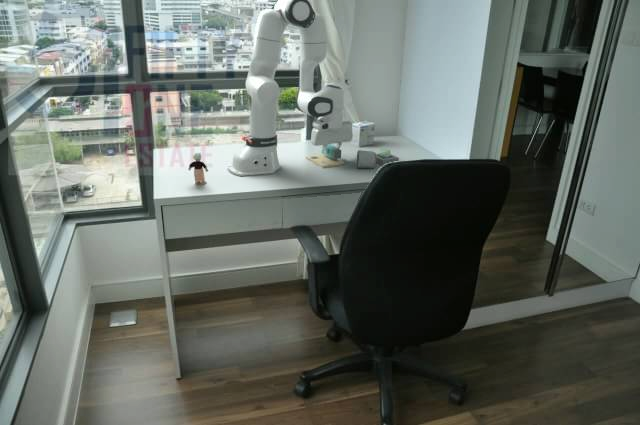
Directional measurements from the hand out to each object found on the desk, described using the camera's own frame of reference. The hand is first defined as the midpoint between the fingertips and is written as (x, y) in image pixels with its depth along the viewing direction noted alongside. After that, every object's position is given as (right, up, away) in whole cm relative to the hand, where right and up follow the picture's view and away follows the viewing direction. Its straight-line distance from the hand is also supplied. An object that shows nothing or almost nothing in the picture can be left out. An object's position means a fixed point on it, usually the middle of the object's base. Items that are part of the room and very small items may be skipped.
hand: (331, 152), depth 228 cm
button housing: (+24, -4, +1) cm, 24 cm away
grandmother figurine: (-53, -16, -30) cm, 63 cm away
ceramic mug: (+15, -7, -4) cm, 17 cm away
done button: (+24, -3, 0) cm, 24 cm away
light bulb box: (+16, +7, +28) cm, 33 cm away
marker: (0, -1, +1) cm, 2 cm away
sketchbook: (-3, -4, 0) cm, 5 cm away
